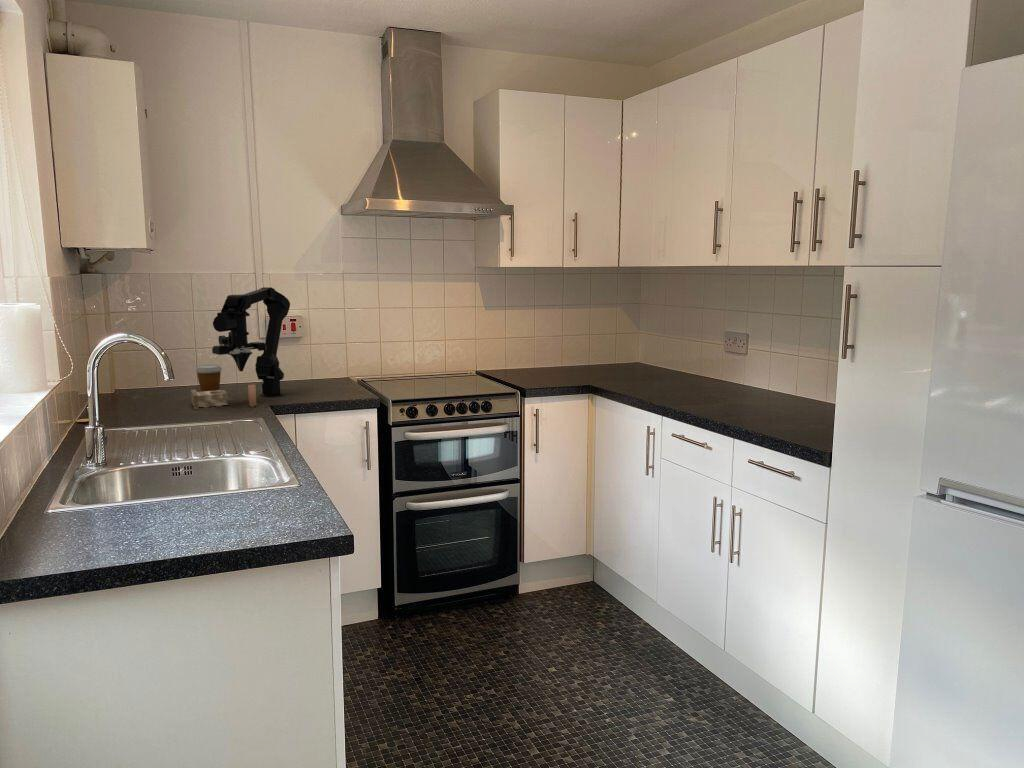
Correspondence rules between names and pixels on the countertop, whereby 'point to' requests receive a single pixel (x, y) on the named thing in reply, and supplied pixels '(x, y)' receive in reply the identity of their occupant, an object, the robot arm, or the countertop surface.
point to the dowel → (252, 395)
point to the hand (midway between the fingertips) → (241, 371)
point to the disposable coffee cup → (209, 377)
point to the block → (212, 398)
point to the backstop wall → (195, 399)
